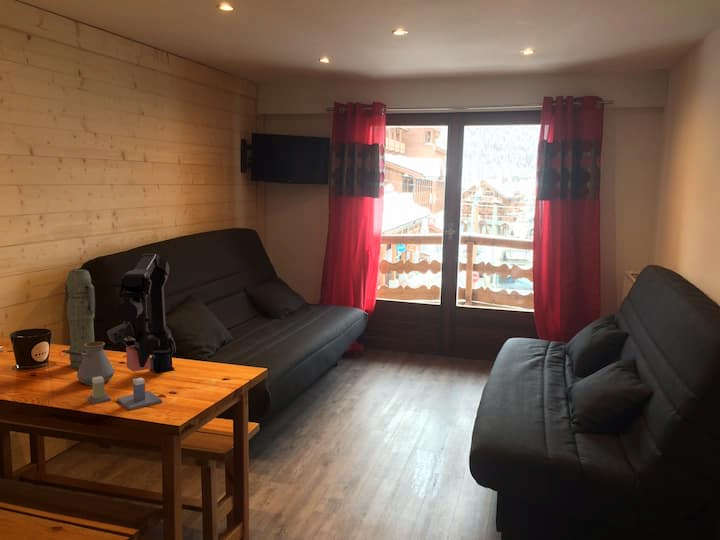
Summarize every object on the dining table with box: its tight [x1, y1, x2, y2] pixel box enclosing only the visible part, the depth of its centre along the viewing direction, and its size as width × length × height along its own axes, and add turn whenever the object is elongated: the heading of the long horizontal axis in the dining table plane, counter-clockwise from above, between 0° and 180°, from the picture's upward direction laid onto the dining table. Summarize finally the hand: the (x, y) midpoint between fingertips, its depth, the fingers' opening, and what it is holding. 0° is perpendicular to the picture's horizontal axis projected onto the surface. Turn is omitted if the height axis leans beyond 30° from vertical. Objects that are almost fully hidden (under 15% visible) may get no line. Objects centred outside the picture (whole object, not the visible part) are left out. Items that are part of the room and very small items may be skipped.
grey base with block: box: [87, 376, 111, 405], centre depth 179 cm, size 5×5×7 cm
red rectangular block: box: [125, 345, 151, 373], centre depth 177 cm, size 5×5×7 cm
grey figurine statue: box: [64, 268, 96, 370], centre depth 210 cm, size 9×12×35 cm
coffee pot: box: [58, 341, 115, 386], centre depth 190 cm, size 21×12×15 cm, turn 168°
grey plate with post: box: [116, 377, 163, 411], centre depth 178 cm, size 10×10×7 cm
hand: (138, 364), depth 178 cm, fingers closed on red rectangular block, 5 cm apart
